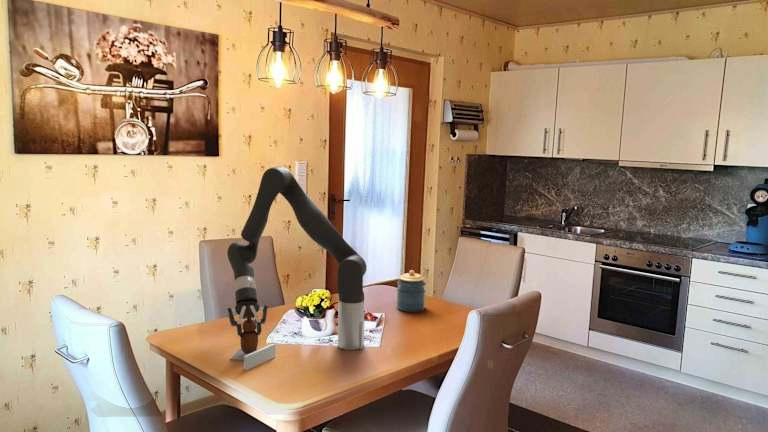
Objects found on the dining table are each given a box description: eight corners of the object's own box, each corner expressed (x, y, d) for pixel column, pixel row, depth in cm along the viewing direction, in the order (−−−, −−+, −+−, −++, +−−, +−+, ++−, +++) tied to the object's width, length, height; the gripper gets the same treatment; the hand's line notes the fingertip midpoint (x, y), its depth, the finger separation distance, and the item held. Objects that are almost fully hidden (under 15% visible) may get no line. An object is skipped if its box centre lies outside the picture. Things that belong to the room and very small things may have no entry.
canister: (406, 302, 264) (407, 265, 261) (430, 307, 256) (431, 269, 254) (390, 308, 253) (391, 270, 251) (414, 314, 246) (416, 275, 243)
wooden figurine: (242, 348, 197) (242, 306, 195) (259, 348, 197) (259, 306, 195) (239, 355, 190) (238, 312, 188) (256, 355, 191) (256, 313, 189)
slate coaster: (267, 351, 198) (267, 349, 198) (259, 362, 188) (259, 360, 188) (240, 349, 199) (240, 348, 199) (230, 360, 189) (230, 359, 189)
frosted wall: (272, 355, 194) (272, 343, 194) (275, 356, 194) (275, 344, 193) (243, 369, 182) (243, 356, 182) (246, 370, 182) (246, 357, 181)
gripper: (225, 287, 195) (228, 332, 186) (267, 285, 200) (272, 328, 191) (224, 298, 201) (227, 342, 191) (265, 295, 206) (270, 338, 196)
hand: (249, 335), depth 191 cm, fingers closed on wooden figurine, 5 cm apart
